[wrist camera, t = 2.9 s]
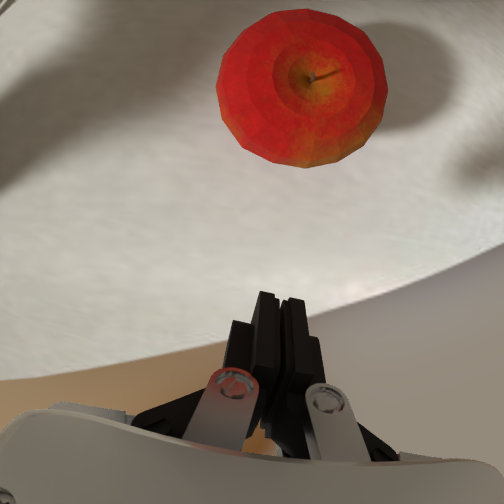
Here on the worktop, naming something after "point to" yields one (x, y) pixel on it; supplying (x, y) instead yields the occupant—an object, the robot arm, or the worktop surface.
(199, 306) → the worktop surface
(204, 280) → the worktop surface
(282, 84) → the apple
